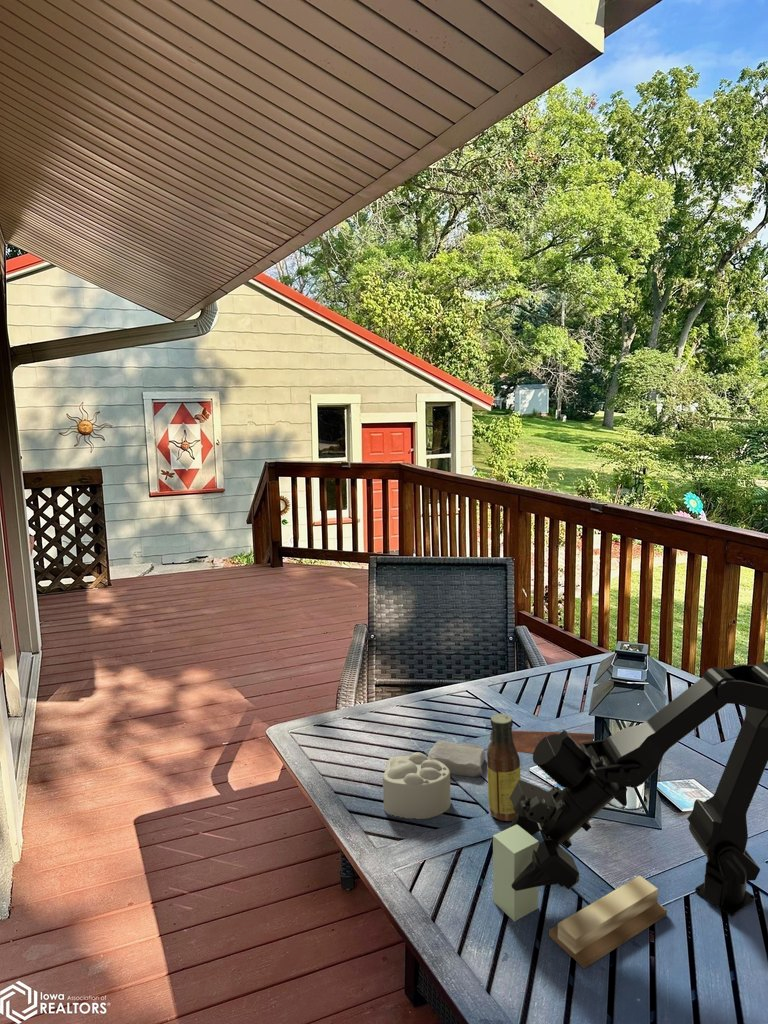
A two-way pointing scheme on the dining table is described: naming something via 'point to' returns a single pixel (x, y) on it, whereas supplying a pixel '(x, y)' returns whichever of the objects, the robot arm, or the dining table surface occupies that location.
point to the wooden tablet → (530, 739)
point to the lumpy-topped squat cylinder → (416, 787)
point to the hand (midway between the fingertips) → (507, 867)
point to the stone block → (459, 757)
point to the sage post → (513, 871)
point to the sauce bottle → (502, 768)
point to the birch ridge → (609, 921)
